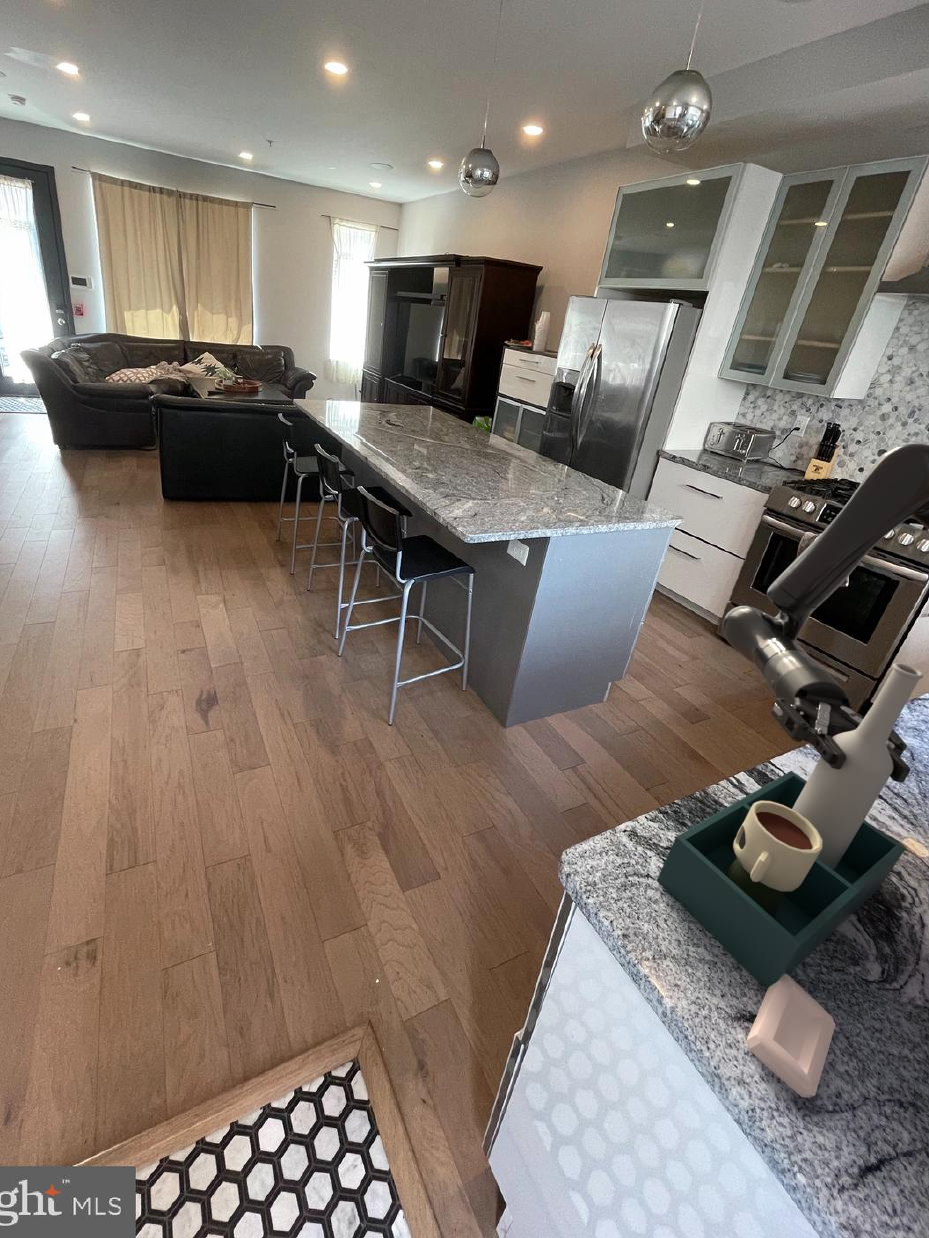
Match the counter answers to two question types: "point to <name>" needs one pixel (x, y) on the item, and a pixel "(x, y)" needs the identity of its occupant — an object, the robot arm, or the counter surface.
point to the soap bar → (792, 1035)
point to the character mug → (773, 853)
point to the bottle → (855, 770)
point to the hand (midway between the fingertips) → (871, 769)
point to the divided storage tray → (802, 911)
